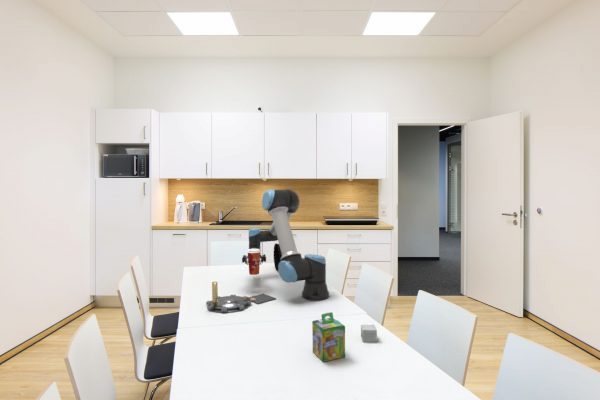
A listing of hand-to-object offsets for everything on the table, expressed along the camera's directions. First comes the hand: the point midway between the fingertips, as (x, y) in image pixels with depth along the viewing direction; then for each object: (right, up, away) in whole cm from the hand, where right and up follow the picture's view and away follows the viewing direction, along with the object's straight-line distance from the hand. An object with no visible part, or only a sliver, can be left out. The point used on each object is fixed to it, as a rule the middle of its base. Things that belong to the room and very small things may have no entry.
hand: (254, 262), depth 197 cm
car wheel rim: (+13, -17, +62) cm, 66 cm away
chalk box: (+36, -21, -70) cm, 82 cm away
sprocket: (-11, -19, -16) cm, 27 cm away
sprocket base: (-11, -19, -16) cm, 27 cm away
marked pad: (+5, -19, -6) cm, 20 cm away
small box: (+53, -20, -57) cm, 81 cm away
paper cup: (0, -8, +5) cm, 9 cm away
